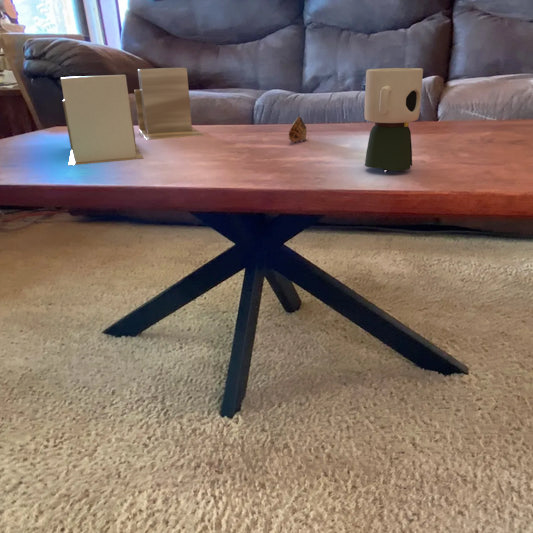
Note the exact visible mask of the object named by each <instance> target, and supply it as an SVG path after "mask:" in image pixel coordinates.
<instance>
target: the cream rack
mask: <svg viewBox="0 0 533 533" xmlns="http://www.w3.org/2000/svg"><path fill="white" fill-rule="evenodd" d="M137 76H138V85H139V88H138V89H134V92H133V93H134V99H135V100H134V101H135V106H136V107H135V108H136V114H137V123H138V132H139V135H140V136H141V138H145V140H146V141H151V140H152V141H153V140H164V139H178V138H189V137H190V138H191V137H202V136H205V134H204V133H202V132H201V131H199V130H197V129H196V128H194V127H193V125H192V112H191V100H190V90H189V80H188V78H189V77H188V68H187V67H161V68H138V69H137Z"/></svg>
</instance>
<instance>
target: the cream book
mask: <svg viewBox="0 0 533 533" xmlns="http://www.w3.org/2000/svg"><path fill="white" fill-rule="evenodd" d="M60 83H61V84H60V85H61V89H62V95H63V100H64V101H65V107H66V113H67V118H68V124H69V129H70V135H71V141H72V146H73V152H74V158H75V163H80V162H91V161H103V160H114V159H125V158H136V151H135V143H134V135H133V128H132V120H131V112H130V104H129V97H130V96H129V90H128V82H127V76H126V74H109V75H108V74H107V75H85V76H65V77H64V76H63V77H62V76H61V77H60Z"/></svg>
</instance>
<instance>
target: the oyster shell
mask: <svg viewBox="0 0 533 533" xmlns="http://www.w3.org/2000/svg"><path fill="white" fill-rule="evenodd" d="M307 130H308V129H307V126H306V124H305V122H304V121H303V119H302V118H301V117H300V116H298V117H296V119H295V120H294V121H293V123H292V125H291V128H290V129H289V131H288V140H289V141H291V143H295V144H297V142H298V141H299V142H304V141H306V139H307V132H308V131H307ZM303 140H304V141H303Z"/></svg>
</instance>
